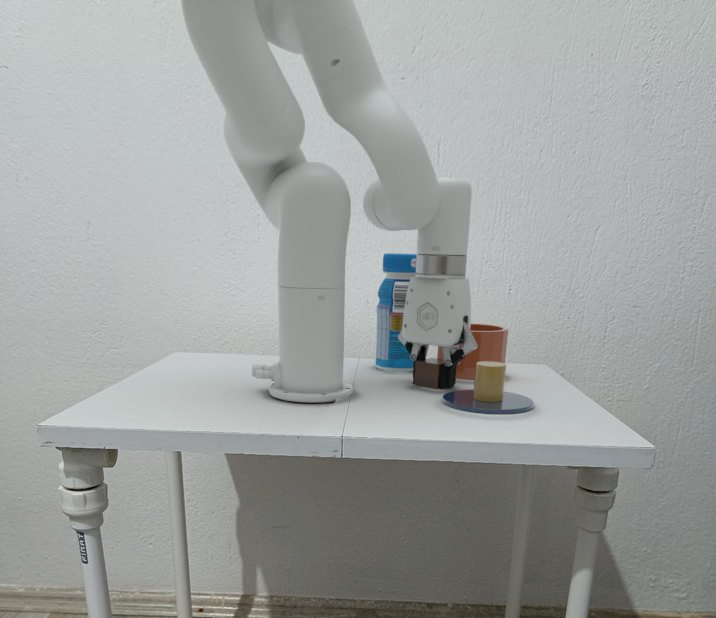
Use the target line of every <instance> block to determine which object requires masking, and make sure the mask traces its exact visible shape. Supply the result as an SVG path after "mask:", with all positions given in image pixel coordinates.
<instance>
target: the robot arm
mask: <svg viewBox="0 0 716 618" xmlns="http://www.w3.org/2000/svg"><path fill="white" fill-rule="evenodd" d="M180 2H181V11H182V15H183V20H184V23H185V27H186V30H187V34H188V37H189V39H190V41H191V45H192V47H193V49H194V51H195V53H196V56H197V58H198V60H199V62H200V65H201V66H202V68H203V70H204V72H205V73H206V75H207V77H208V79H209V80H208V81H210V84H211V86H212V88H213V90H214V91H215V93H216V96H217V97H218V99H219V101H220V103H221V104H222V106H223V109H224V111H225V115H224V120H223V133H224V134H223V135H224V140H225V143H226V146H227V148H228V151H229V154H230V155H231V157H232V159H233V161H234V163H235V165H236V166H237V168H238V170H239V172H240V174H241V175H242V177H243V179H244V181H245V182H246V184H247V186H248V188H249V189H250V191H251V193H252V195H253V196H254V198H255V200H256V202H257V203H258V205H259V207H260V209H261V210H262V212H263V214H264V215H265V217H266V218H267V220H268V221H269V223H270V224H271V225H272V226H273V227H274V228H275V229H276V230H277V231H278V232H279V236H278V250H277V296H278V297H277V302H278V303H277V304H278V306H277V307H278V362H276V363H273V364H272V365H266V364H255V363H254V364H252V367H251V375H252V377H253V378H255V379H257V380H270V381H272V382H273V383H271V384H270V385H269V386H268V393H269V395H270V396H271V397H273V398H275V399H277V400H283V401H287V402H296V403H312V404H313V403H314V404H315V403H332V402H335V401H337V400H338V399H342V398H346V397H350V396H351V395H352V394H354V386H353V385H351V384H350V383H348V382H345V381H344V360H345V359H344V357H345V305H346V304H345V303H346V301H345V300H346V299H345V298H346V258H347V257H346V256H347V245H348V239H349V238H348V237H349V232H350V225H351V224H350V223H351V214H352V213H351V211H352V203H351V202H352V201H351V196H350V191H349V189H348V185H347V183H346V181H345V179H344V178H343V176H342V175H341V174H340V173H339V172H338V171H337V170H336V169H334V168H333V167H332V166H330V165H328V164H326V163H322V162H319V161H308V159H307V158H306V155H305V154H304V152H303V150H302V148H301V144H302V142H303V140H304V138H305V132H306V121H305V115H304V112H303V110H302V107H301V105H300V103H299V101H298V100H297V98H296V96H295V94H294V92H293V90H292V88H291V86H290V84H289V83H288V81H287V79H286V76H285V75H284V72H283V71H282V69H281V67H280V65H279V63H278V61H277V59H276V58H275V56H274V54H273V51H272V49H271V48H270V45H269V43H270V44H271V45H273V46H276V47H278V48H280V49H282V50H284V51H286V52H289V53H292V54H295V55H301V56H302V59H303V60H304V63H305V66H306V67H307V69H308V72H309V74H310V77H311V79H312V81H313V84H314V86H315V88H316V91H317V93H318V95H319V98H320V101H321V104H322V105H323V108H324V110H325V112H326V114H327V116H329V117H330V118H331V120H332V121H333V122H334V123H336V124H337V126H340V127H341V128H342V129H344V130H345V131H346V132H347V133H349V134H350V135H351V136H353V137H354V138H355V140H356V141H357V142H358V143H359V144H360V145H361V147H362V148H363V150H364V151H365V153H366V154H367V156H368V157H369V159H370V161H371V164H372V166H373V167H374V170H375V172H376V174H377V176H378V178H376V179H375V180H373V182H372V183H370V185H369V186H368V187H367V189H366V190H365V192H364V195H363V199H362V208H363V213H364V215H365V217H366V219H367V220H368V221H369V222H370V223H371V225H373V226H374V227H376V228H378V229H380V230H383V231H389V232H392V231H393V232H399V231H416V230H417V240H416V241H417V242H416V254H417V255H416V259H412V261H411V266H412V267H413V268H416V276H411V279H410V282H409V286H408V290H407V295H406V300H405V307H404V315H403V327H402V330H401V332H400V333H399V335H398V339H399V340H400V341H401V343H402V344H403V345H404V346H405V347H406V349H407V351H408V352H409V354H410V355H411V356H410V358H411V360H412V361H414V363H413V371H412V384H413V385H414V382H415V363H416V361H418V360H423V359H427V354H428V352H429V347H430V346H436V347H438V346H442V347H443V355H444V363H445V365H443V366H442V367H441V376H440V390H446V389H449V388H454V387H455V384H456V381H457V380H456V379H457V378H456V369H457V364H459V363H460V362H461V360H462V359H463V358H464V357H465V356H467V354H469V353H471V352H472V351H474V350H475V349H477V347H478V345H477V343H476V341H475V339H474V337H473V335H472V333H471V331H470V327H471V323H472V299H471V298H472V297H471V288H470V287H471V286H470V280H469V278H466V275H467V262H468V248H469V247H468V246H469V234H470V223H471V222H470V221H471V209H472V194H473V193H472V192H473V188H472V185H471V183H470V182H469V181H468V180H467V179H465V178H460V177H442V176H441V177H440V176H439V177H437V175H436V172H435V168H434V165H433V163H432V161H431V158H430V155H429V152H428V150H427V147H426V144H425V142H424V140H423V138H422V135H421V133H420V131H419V130H418V128H417V126H416V125H415V123H414V121H413V120H412V118H411V117H410V116H409V114H408V112H406V110H405V109H404V107H403V106H402V105H401V103H400V101H399V100H398V99H397V97H396V96H395V95H394V93H393V92H392V91H391V90H390V89H389V87H388V85H387V84H386V82H385V80H384V77H383V75H382V73H381V69H380V67H379V65H378V61H377V59H376V57H375V55H374V51H373V49H372V47H371V43H370V41H369V39H368V35H367V33H366V30H365V27H364V25H363V23H362V19H361V17H360V14H359V11H358V9H357V5H356V3H355V0H180ZM459 344H464V346H463V347H461V348H460V349H459Z"/></svg>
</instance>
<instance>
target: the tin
mask: <svg viewBox="0 0 716 618" xmlns="http://www.w3.org/2000/svg"><path fill="white" fill-rule="evenodd" d="M470 331H471V333H472V335H473V337H474V339H475V341H476V343H477V345H478V347H477V349H475V350H474V351H472V352H471V353H469V354H467V356H465V357H464V358H463V359H462V360H461V362H460V363H459V364H457V369H456V379H457V380H469V381H470V380H471V381H474V379H475V367H476V363H477V362H482V361H491V362H500V363H504V364H506V356H507V347H508V338H509V337H508V336H509V329H508V327H505V326H501V325H497V324H496V325H495V324H486V323H474V322H473V323H472V322H471V327H470ZM463 346H464V344H459V349H460V348H461V347H463ZM436 359H442V360H444V355H443V347H442V346H437V357H436Z"/></svg>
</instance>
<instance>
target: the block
mask: <svg viewBox="0 0 716 618" xmlns="http://www.w3.org/2000/svg"><path fill="white" fill-rule="evenodd" d="M443 365H445V363H444V360H442V359H437V357H436V358H435V357H428V358H426V359H423V360H418V361H416V363H415V382H414V384H413V385H414V386H418V387H423V388H428V389H433V390H439V389H440V376H441V367H442V366H443ZM440 390H441V389H440Z"/></svg>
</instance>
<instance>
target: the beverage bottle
mask: <svg viewBox="0 0 716 618" xmlns="http://www.w3.org/2000/svg"><path fill="white" fill-rule="evenodd" d="M416 255H417V253H393V252H392V253H383V257H382V272H383V274H386V275H385V277H384V279H383V280H382V282H381V283H380V286H379V287H378V290H377V297H378V300H379V301H378V304H377V305H376V310H375V311H376V343H375V344H376V345H375V346H376V347H375V348H376V350H375V367H376V368H377V369H378V370H380V371H384V372H385V371H386V372H403V373H408V372H409V373H410V372H413V363H414V361H412V360H411V358H410V356H411V355H410V354H409V352H408V351H407V349H406V347H405V346H404V345H403V344H402V343H401V341H400V340H399V339H398V335H399V333H400V332H401V330H402V327H403V315H404V307H405V300H406V295H407V290H408V286H409V282H410V279H411V276H416V268H413V267H412V266H411V261H412V259H416Z"/></svg>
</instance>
